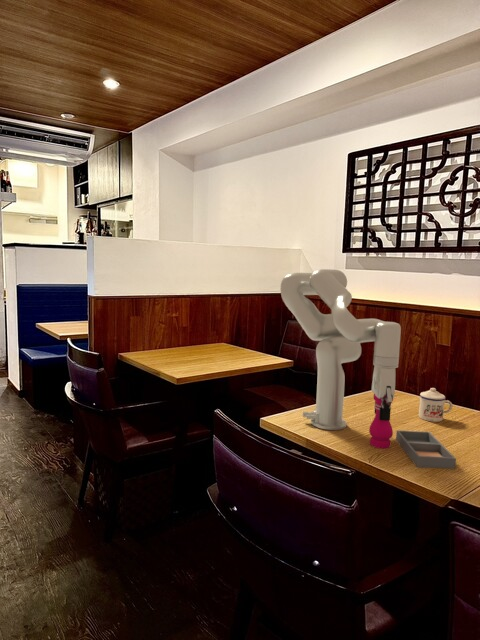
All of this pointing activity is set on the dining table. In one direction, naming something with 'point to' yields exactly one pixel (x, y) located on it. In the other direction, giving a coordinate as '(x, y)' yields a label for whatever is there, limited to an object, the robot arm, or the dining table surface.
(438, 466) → the tray
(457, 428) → the dining table surface
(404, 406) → the dining table surface
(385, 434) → the pepper mill
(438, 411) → the teacup with lid
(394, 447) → the dining table surface
